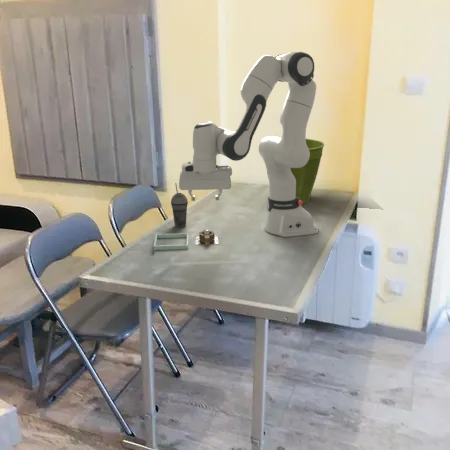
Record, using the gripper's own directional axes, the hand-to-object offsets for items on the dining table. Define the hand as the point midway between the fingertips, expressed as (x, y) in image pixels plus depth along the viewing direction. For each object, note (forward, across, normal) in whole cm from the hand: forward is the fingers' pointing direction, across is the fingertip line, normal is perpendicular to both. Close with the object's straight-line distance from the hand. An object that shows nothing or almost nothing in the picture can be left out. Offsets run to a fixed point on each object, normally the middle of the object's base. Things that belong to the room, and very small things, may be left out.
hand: (205, 200), depth 204 cm
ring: (+17, 0, +1) cm, 17 cm away
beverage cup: (+18, +11, -18) cm, 27 cm away
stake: (+18, 0, 0) cm, 18 cm away
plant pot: (+17, -44, -55) cm, 73 cm away
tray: (+18, +14, +2) cm, 22 cm away
